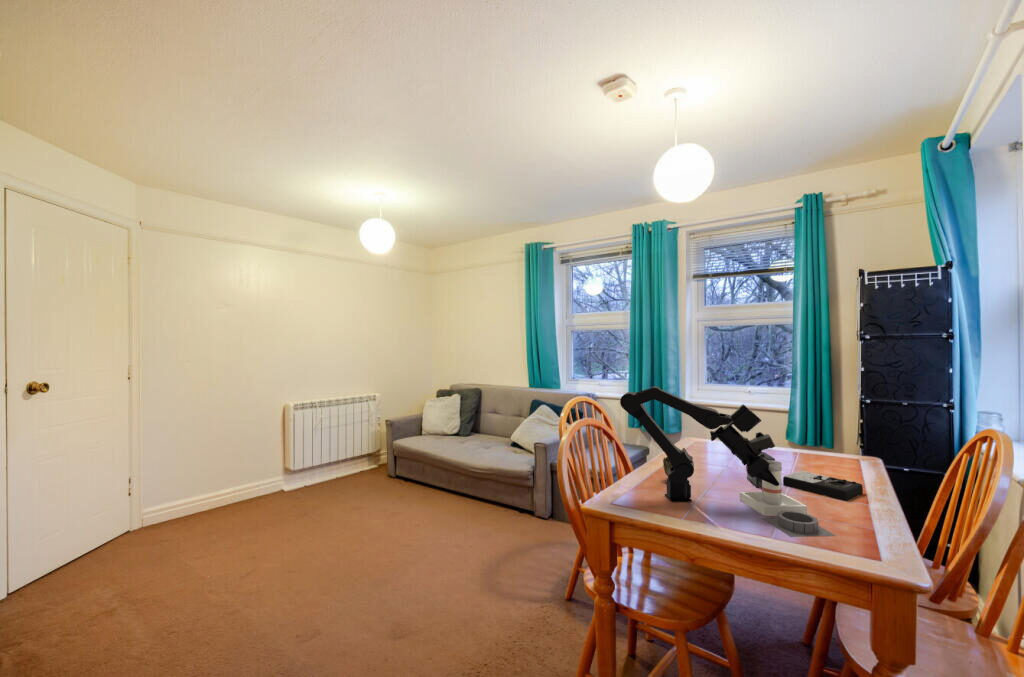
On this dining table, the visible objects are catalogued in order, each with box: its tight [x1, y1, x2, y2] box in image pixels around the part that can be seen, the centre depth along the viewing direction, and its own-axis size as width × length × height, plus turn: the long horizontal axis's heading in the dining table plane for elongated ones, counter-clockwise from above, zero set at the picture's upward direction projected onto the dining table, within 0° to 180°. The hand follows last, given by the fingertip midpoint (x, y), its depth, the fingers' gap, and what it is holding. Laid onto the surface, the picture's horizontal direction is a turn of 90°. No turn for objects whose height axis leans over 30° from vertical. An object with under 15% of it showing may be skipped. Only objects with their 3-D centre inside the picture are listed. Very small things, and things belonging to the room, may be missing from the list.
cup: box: [662, 456, 672, 477], centre depth 161 cm, size 8×7×8 cm
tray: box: [739, 491, 808, 517], centre depth 132 cm, size 13×13×4 cm
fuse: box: [761, 460, 783, 505], centre depth 133 cm, size 5×5×12 cm
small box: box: [746, 451, 776, 489], centre depth 158 cm, size 11×6×10 cm, turn 168°
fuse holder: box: [761, 511, 837, 538], centre depth 118 cm, size 12×12×4 cm
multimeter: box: [782, 470, 864, 502], centre depth 151 cm, size 13×19×5 cm
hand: (776, 482), depth 132 cm, fingers closed on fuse, 5 cm apart
